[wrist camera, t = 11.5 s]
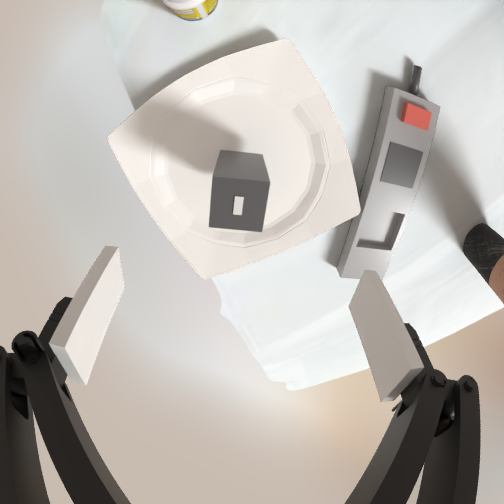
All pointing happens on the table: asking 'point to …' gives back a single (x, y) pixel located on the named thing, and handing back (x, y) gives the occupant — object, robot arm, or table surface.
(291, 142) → the plate
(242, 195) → the block
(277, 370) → the table surface
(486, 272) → the travel mug
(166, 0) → the supplement bottle
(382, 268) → the power strip
